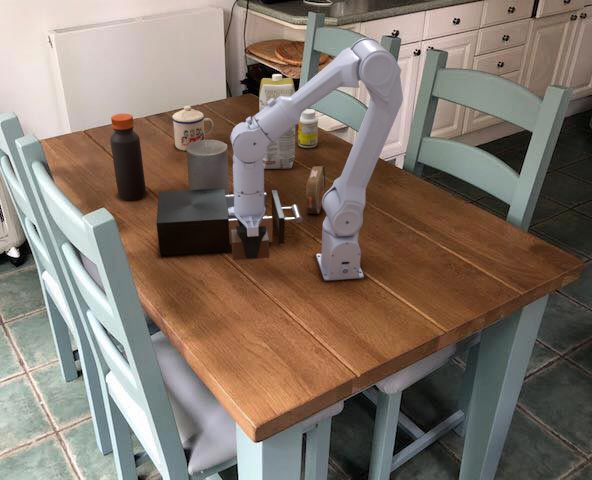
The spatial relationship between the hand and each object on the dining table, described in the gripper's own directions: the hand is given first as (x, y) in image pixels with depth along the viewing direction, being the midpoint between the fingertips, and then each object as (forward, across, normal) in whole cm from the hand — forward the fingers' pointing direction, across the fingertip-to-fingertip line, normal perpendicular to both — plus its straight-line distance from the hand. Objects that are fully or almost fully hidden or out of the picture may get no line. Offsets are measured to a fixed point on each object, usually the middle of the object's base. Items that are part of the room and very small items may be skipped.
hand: (250, 250), depth 125 cm
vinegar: (+5, -38, -26) cm, 46 cm away
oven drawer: (+4, -15, +3) cm, 16 cm away
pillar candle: (+5, -33, -7) cm, 34 cm away
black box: (+5, -15, -11) cm, 19 cm away
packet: (0, 0, 0) cm, 0 cm away
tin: (+5, -27, +18) cm, 33 cm away
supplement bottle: (+5, -64, +22) cm, 68 cm away
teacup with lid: (+5, -69, -10) cm, 70 cm away
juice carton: (+5, -52, +12) cm, 54 cm away
